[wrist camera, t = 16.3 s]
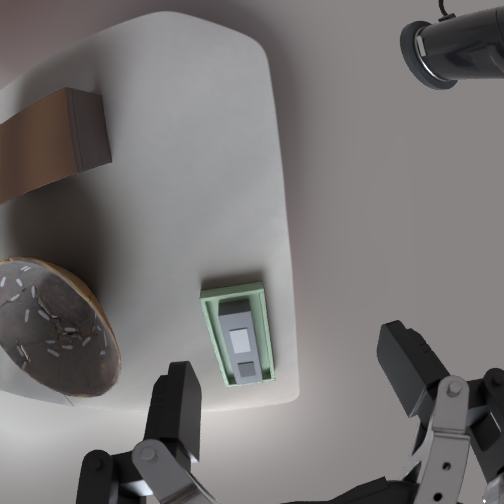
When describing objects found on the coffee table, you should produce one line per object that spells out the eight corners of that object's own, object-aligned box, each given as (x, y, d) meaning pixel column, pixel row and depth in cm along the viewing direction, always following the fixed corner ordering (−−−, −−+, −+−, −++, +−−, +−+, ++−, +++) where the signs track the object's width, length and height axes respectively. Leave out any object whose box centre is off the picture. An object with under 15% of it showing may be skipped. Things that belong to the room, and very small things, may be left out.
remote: (218, 303, 39) (217, 316, 36) (249, 298, 39) (251, 311, 36) (235, 372, 45) (236, 386, 42) (261, 368, 45) (263, 382, 42)
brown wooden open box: (101, 95, 26) (66, 86, 18) (112, 162, 30) (78, 172, 22) (14, 136, 26) (-26, 143, 18) (25, 193, 29) (-13, 211, 21)
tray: (200, 290, 38) (199, 298, 36) (261, 281, 38) (263, 288, 37) (226, 379, 46) (226, 387, 44) (273, 371, 46) (275, 380, 45)
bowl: (77, 371, 43) (61, 407, 34) (-3, 275, 34) (-33, 303, 25) (169, 330, 41) (159, 377, 32) (70, 196, 31) (28, 218, 22)
